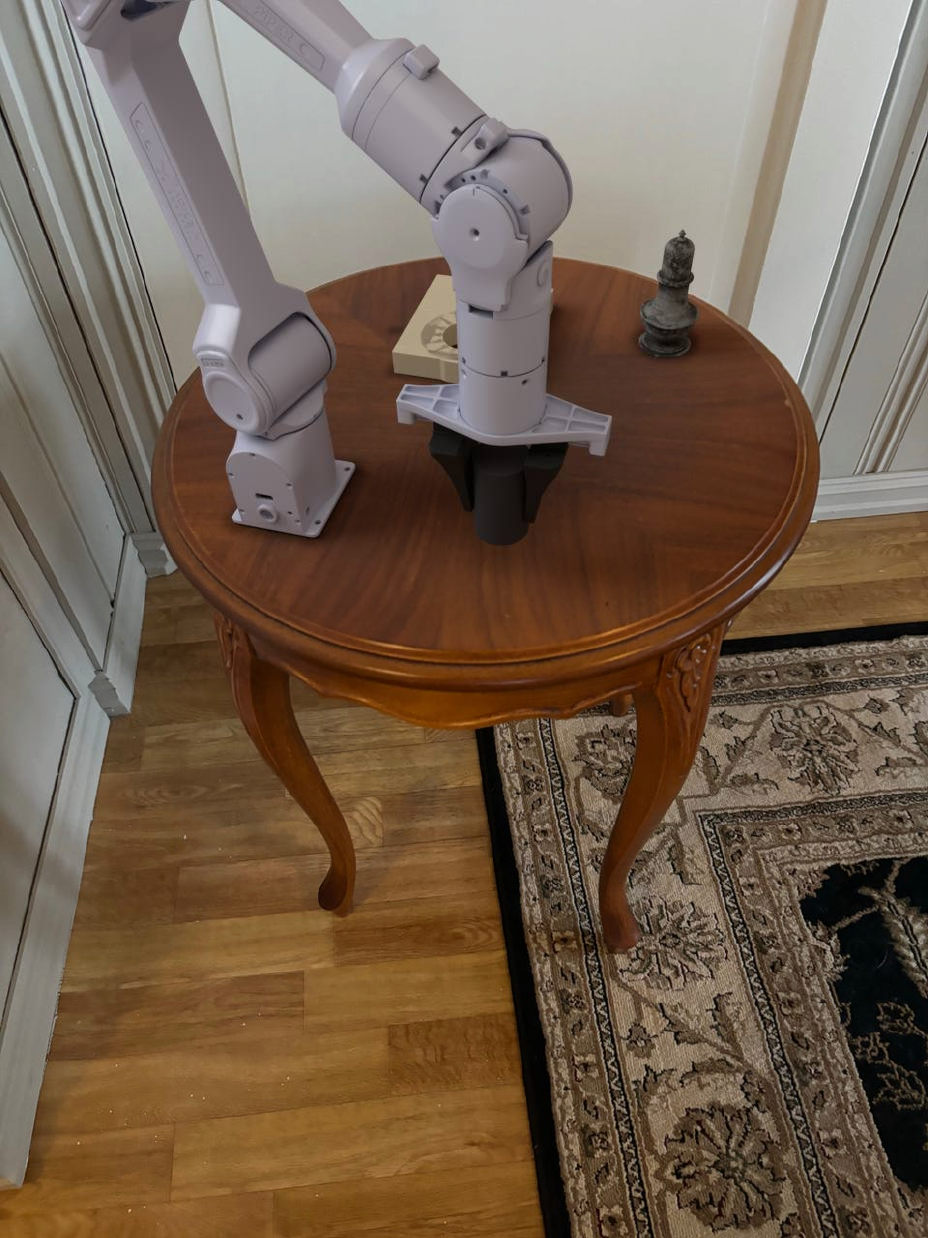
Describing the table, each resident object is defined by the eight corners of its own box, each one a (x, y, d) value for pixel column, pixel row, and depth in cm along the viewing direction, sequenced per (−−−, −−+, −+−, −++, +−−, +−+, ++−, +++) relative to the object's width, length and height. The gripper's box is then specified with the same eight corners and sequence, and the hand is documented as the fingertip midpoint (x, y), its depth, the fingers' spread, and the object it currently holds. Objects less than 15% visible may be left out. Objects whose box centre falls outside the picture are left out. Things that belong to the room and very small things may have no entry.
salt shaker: (625, 348, 91) (639, 234, 82) (651, 320, 94) (668, 208, 85) (677, 366, 89) (698, 251, 79) (703, 337, 92) (726, 224, 82)
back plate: (518, 393, 87) (519, 371, 85) (393, 374, 89) (390, 352, 87) (552, 309, 96) (554, 288, 94) (438, 294, 99) (437, 273, 97)
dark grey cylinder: (521, 550, 66) (523, 479, 61) (467, 540, 67) (465, 469, 62) (534, 512, 69) (537, 441, 64) (482, 503, 70) (481, 432, 64)
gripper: (627, 331, 57) (607, 489, 68) (414, 302, 60) (426, 458, 70) (607, 396, 53) (589, 554, 63) (378, 362, 56) (397, 518, 66)
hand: (502, 508), depth 67 cm, fingers closed on dark grey cylinder, 4 cm apart
